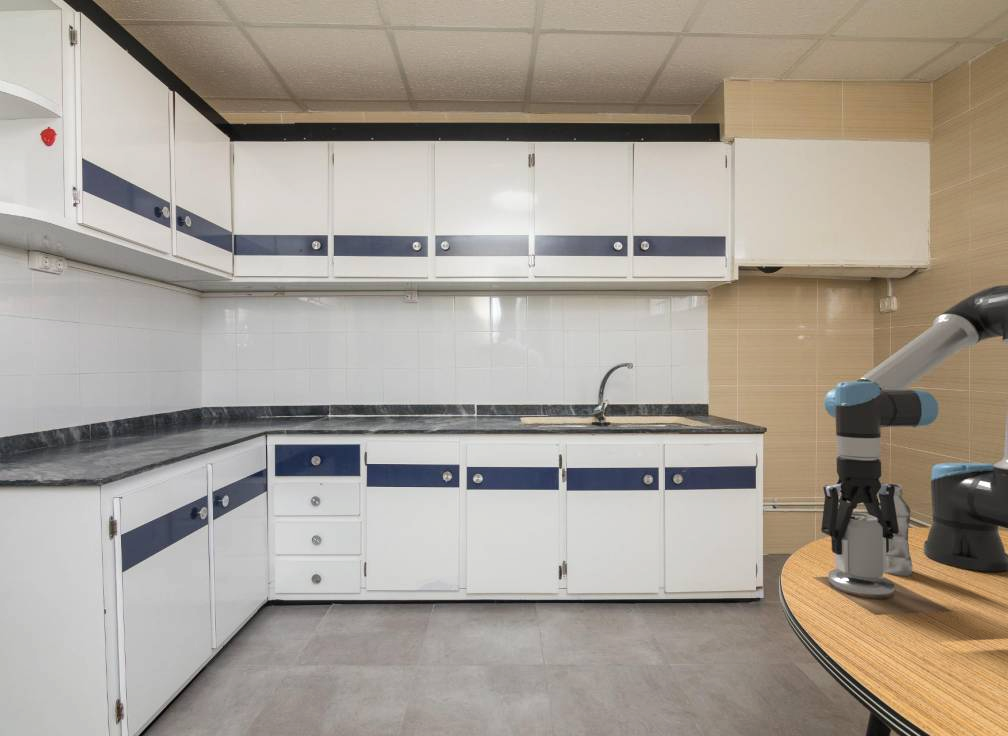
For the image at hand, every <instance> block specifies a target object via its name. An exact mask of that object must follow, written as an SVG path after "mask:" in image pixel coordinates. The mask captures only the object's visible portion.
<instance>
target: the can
mask: <svg viewBox="0 0 1008 736" xmlns="http://www.w3.org/2000/svg"><path fill="white" fill-rule="evenodd" d="M843 538H844V539H847V540H848V572H844V573H845V574H846V575H848V576H850V577H853V578H857V579H862V580H877V579H878V578H880V577H881V576H883V577H884V572H883V528H882V526H881V525H880V524H879V523H878V518H876V517H874V516H871V515H869V514H868V513H861V512H852V515H851V518H850V521H849V523H848V526H847V529H846V532H845V535H844V537H843Z"/></svg>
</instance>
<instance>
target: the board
mask: <svg viewBox="0 0 1008 736" xmlns="http://www.w3.org/2000/svg"><path fill="white" fill-rule="evenodd" d="M812 578H813V579H815V580H816V581H818V582H820V584H821V583H822V584H823V585H824V586H826V587H828V588H829V589H831V590H833V591H834V592H836V593H838V594H840V595H841V596H842V597H845V598H846V599H848V600H850V601H852V602H853V603H855V604H856V605H858V606H860V607H861V608H864V609H865V610H866V611H868V612H870V613H872V614H873V615H875V616H876V615H877V616H880V615H881V616H882V615H898V614H899V615H901V614H920V613H921V614H922V613H923V614H924V613H942V612H944V613H945V612H953V610H951V609H950V608H947V607H946V606H943V605H941V604H939V603H937V602H935V601H933V600H931V599H930V598H927V597H925V596H923V595H921V594H919V593H917V592H915V591H913V590H911V589H909V588H907V587H905V586H903V585H902V584H899V583H897V582H895V581H893V580H891V579H889V580H890V581H892V582H893V583H894V597H893V598H890V599H886V600H873V599H865V598H859V597H855V596H851V595H848V594H845V593H842V592H840V591H838V590H836V589H834V588H833V587H832V586H830V584H829V576H813V577H812Z"/></svg>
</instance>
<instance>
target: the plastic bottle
mask: <svg viewBox="0 0 1008 736" xmlns="http://www.w3.org/2000/svg"><path fill="white" fill-rule="evenodd" d="M887 484H888V485H892V486H894V487H895V492H894V503H895V509H896V516H897V522H898V528H899V533H898V534H893V535H894V537H893V538H892V539H889V551H888V553H886V564H887V571H883V573H886V574H889V575H892V576H893V575H894V576H904V577H905V576H911V575H912V572H913V567H914V566H913V561H912V557H911V554H910V553H911V552H910V547H909V545H910V544H909V526H910V520H911V512H912V511H911V509H910V506H909V505H908V503H907V502H906V501H905V500H904V498H903V497H902V496H903V495H904V492H903V485H901V484H897V483H887ZM878 500H879V498H878ZM879 503H880V501H879ZM879 507H880V505H879ZM880 509H881V507H880Z"/></svg>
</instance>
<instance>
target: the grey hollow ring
mask: <svg viewBox="0 0 1008 736" xmlns="http://www.w3.org/2000/svg"><path fill="white" fill-rule="evenodd" d="M828 577H829V584H830V586H832V587H833V588H834V589H836V590H838V591H840V592H842V593H845V594H848V595H851V596H855V597H859V598H865V599H873V600H886V599H890V598H893V597H894V583H893V582H894V581H893V580H891V579H889V578H887V577H885V576H884V575H883V576H881V577H880V578H878V579H877V580H862V579H857V578H853V577H850V576H848V575H846V574H845V573H844V572H843V571H841V570H839V569H837V568H835V569H832V570H830V571H829V572H828ZM890 580H891V581H890ZM892 581H893V582H892Z"/></svg>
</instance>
